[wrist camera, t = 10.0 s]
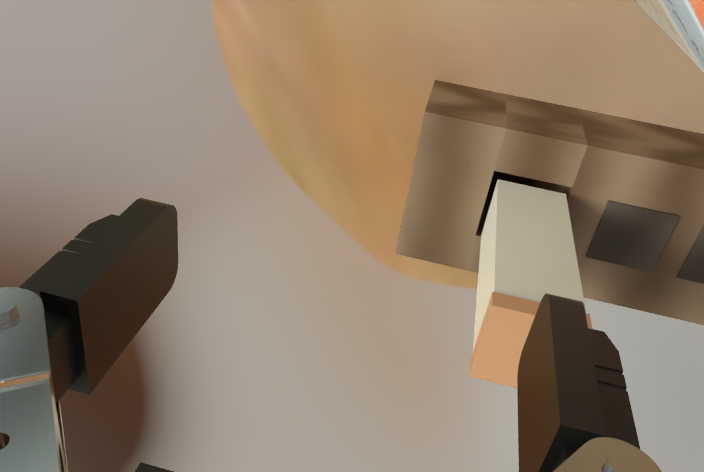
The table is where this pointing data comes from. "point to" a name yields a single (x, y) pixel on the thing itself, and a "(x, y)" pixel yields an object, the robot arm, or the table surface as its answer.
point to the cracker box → (680, 24)
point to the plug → (520, 274)
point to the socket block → (573, 180)
